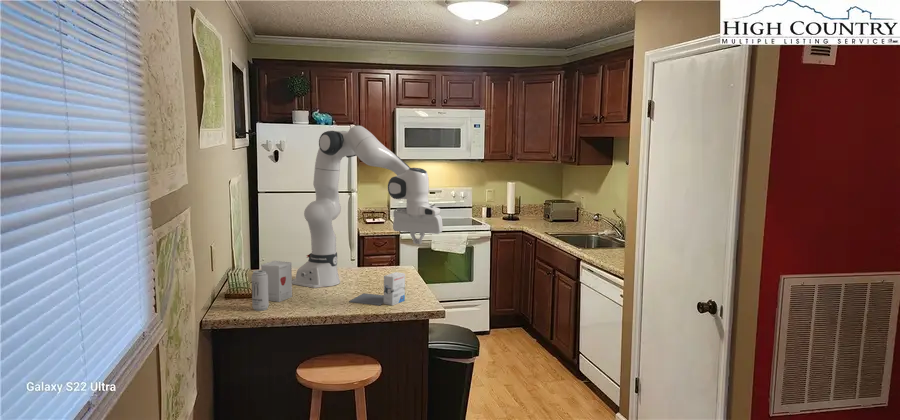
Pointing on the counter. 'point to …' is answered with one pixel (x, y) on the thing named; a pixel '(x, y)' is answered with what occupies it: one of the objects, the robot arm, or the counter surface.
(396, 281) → the ink box
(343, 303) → the counter surface
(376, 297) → the mat
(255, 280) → the energy drink can
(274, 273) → the supplement box
